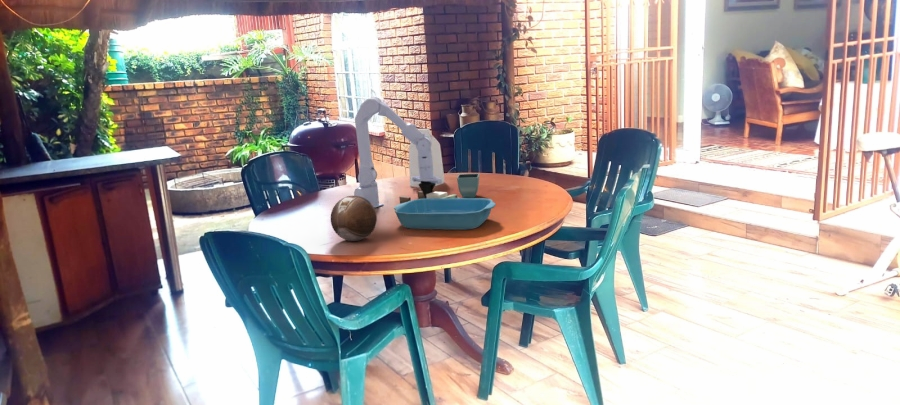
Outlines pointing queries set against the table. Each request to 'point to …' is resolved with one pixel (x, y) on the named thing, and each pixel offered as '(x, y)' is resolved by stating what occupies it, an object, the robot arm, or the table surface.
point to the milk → (435, 158)
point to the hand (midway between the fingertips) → (428, 200)
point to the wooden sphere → (353, 218)
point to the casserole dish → (444, 213)
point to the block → (436, 195)
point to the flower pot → (468, 185)
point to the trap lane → (422, 197)
